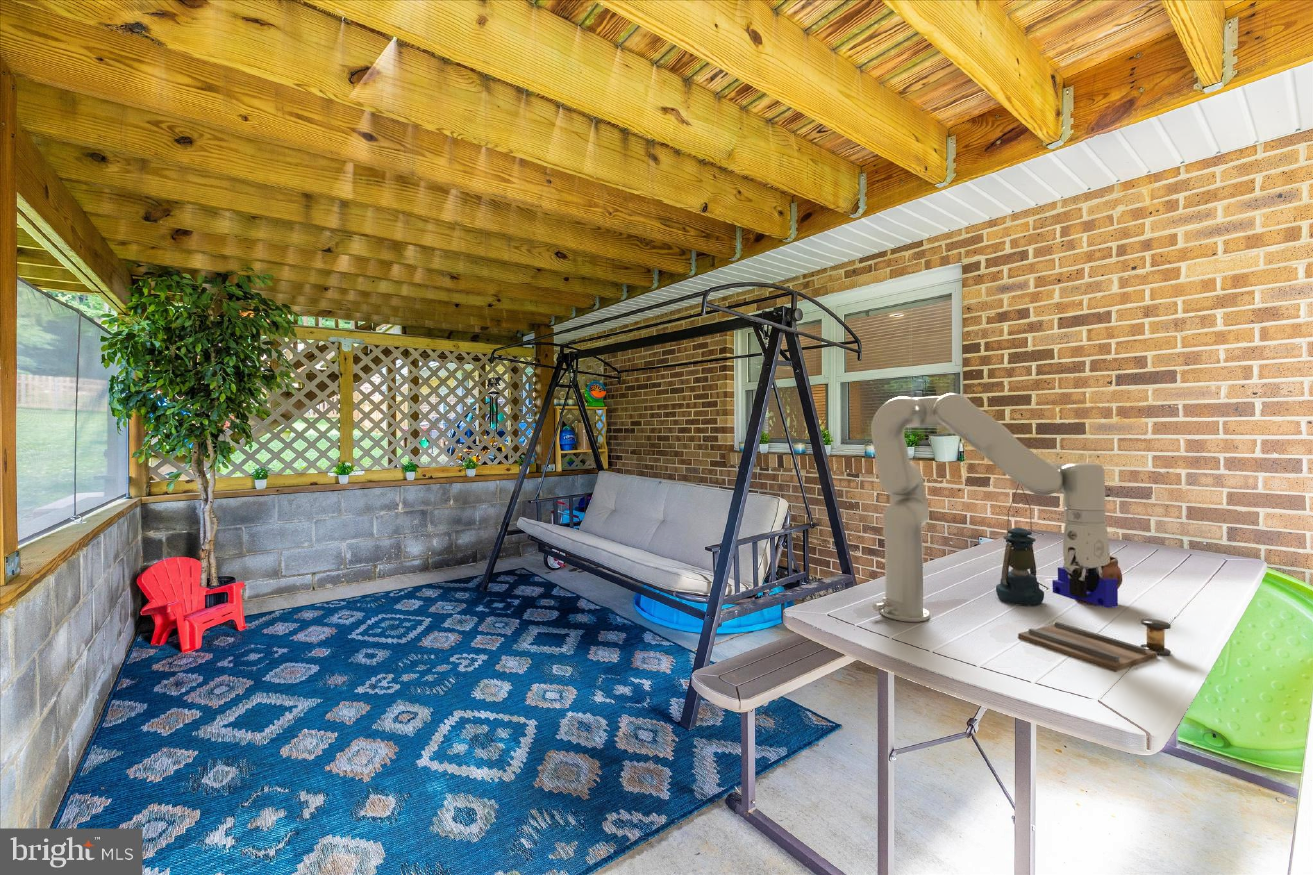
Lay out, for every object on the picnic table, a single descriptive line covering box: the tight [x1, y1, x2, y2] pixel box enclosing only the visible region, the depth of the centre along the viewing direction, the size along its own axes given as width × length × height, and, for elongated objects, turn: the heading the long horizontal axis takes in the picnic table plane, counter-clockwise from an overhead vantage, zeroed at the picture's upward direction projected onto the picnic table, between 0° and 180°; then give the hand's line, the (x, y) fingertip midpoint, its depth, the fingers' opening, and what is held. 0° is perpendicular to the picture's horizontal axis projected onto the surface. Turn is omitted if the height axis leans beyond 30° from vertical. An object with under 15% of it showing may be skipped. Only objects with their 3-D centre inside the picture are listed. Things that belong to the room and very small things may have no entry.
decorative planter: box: [1075, 555, 1123, 607], centre depth 155 cm, size 20×12×14 cm, turn 132°
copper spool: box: [1140, 618, 1172, 657], centre depth 122 cm, size 5×5×7 cm
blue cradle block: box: [1051, 566, 1119, 609], centre depth 125 cm, size 12×4×6 cm, turn 8°
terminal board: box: [1017, 621, 1158, 673], centre depth 125 cm, size 16×20×2 cm
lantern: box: [995, 483, 1045, 607], centre depth 159 cm, size 14×12×35 cm
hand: (1085, 594), depth 125 cm, fingers closed on blue cradle block, 4 cm apart
